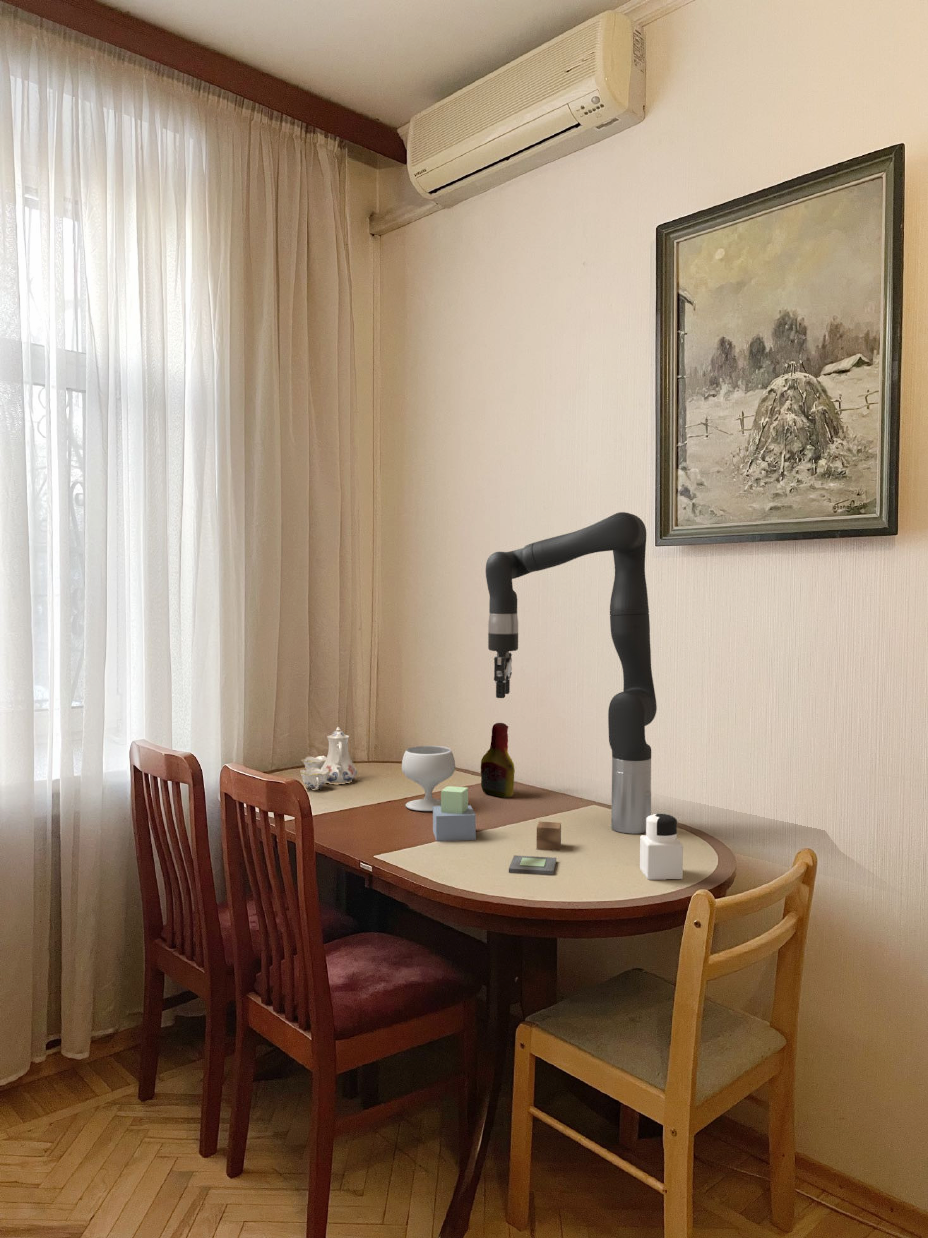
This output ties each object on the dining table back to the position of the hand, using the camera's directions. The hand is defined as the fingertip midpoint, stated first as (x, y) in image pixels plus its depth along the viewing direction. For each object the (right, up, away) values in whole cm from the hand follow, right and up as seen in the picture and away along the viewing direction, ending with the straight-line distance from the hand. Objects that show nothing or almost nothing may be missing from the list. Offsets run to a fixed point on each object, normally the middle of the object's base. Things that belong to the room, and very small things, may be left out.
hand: (502, 695), depth 234 cm
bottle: (0, -29, +22) cm, 37 cm away
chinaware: (-49, -29, +38) cm, 68 cm away
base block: (-12, -31, -17) cm, 38 cm away
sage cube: (-12, -25, -17) cm, 33 cm away
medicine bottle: (+30, -33, -45) cm, 64 cm away
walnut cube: (+9, -32, -27) cm, 42 cm away
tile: (+5, -32, -41) cm, 52 cm away
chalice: (-19, -30, +9) cm, 37 cm away
